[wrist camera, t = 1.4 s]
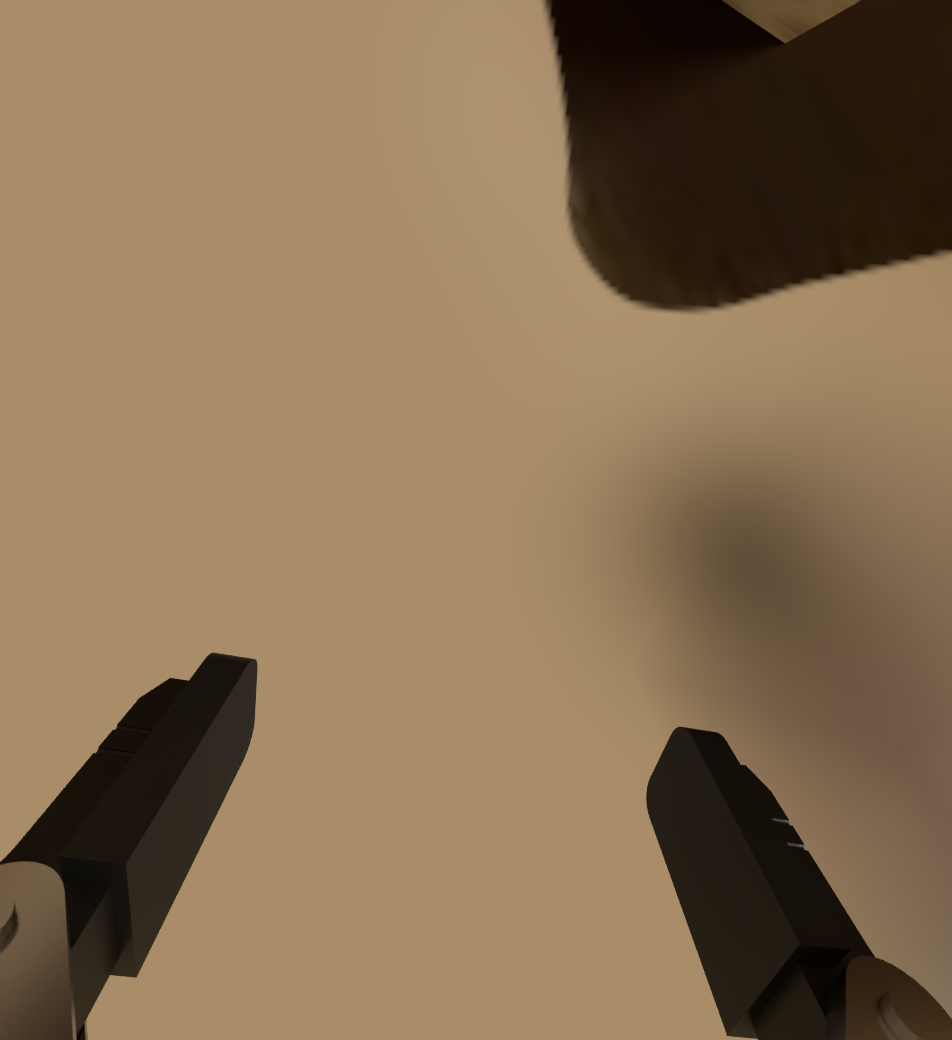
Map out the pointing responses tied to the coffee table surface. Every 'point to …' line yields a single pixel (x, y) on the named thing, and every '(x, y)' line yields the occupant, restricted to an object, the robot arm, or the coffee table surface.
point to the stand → (789, 14)
